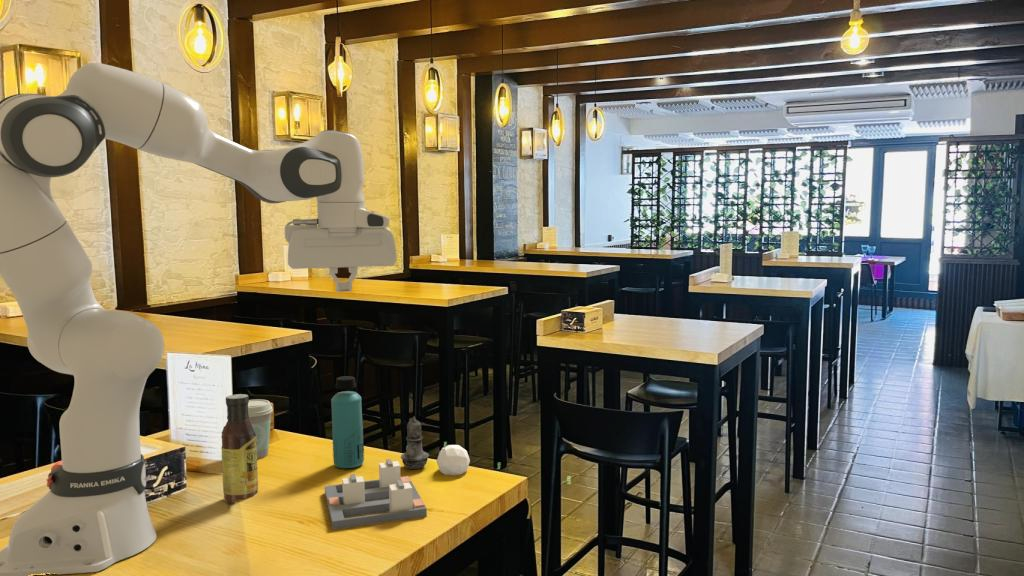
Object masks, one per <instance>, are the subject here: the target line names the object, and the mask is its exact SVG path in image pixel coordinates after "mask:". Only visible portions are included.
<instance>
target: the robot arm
mask: <svg viewBox="0 0 1024 576" xmlns="http://www.w3.org/2000/svg"><path fill="white" fill-rule="evenodd" d="M208 122H209V120H208V117H207V113H206V111H205V109H204V108H203V106H202V105H201V103H200V102H199V101H197V100H196V99H194V98H192V97H191V96H190V95H188V94H186V93H185V92H183V91H181V90H179V89H177V88H176V87H173V86H171V85H168V84H166V83H164V82H161V81H159V80H156V79H154V78H152V77H149V76H147V75H143V74H140V73H138V72H134V71H131V70H129V69H126V68H121V67H117V66H113V65H109V64H105V63H101V62H89V63H86V64H84V65H82V66H81V67H80V66H79V68H78V69H77V70H76V71H74V73H73V74H72V76H71V77H70V79H69V80H68V82H67V85H66V89H65V90H63V92H62V93H60V94H59V95H55V96H54V95H53V96H51V95H45V94H39V93H18V94H17V93H16V94H13V95H9V96H7V97H5V98H3V99H2V100H0V277H1V279H2V280H3V282H5V284H6V286H7V287H8V288H9V291H10V292H11V294H12V296H13V297H14V299H15V301H16V303H17V304H18V308H19V309H20V313H21V314H22V317H23V320H24V323H25V325H26V328H27V335H26V337H27V338H26V343H27V348H28V350H29V353H30V354H31V356H32V357H33V358H34V359H35V360H36V361H37V362H38V363H41V364H42V365H44V366H45V367H46V368H48V369H50V370H52V371H54V372H57V373H60V374H65V375H70V376H73V377H74V383H73V384H74V385H73V390H72V396H71V399H70V403H69V406H68V408H67V409H66V410H65V411H63V413H62V414H61V416H60V419H59V422H58V423H59V439H60V451H61V452H60V453H61V460H59V461H56V462H55V463H54V464H53V465H52V466H51V469H50V472H49V473H48V474H47V479H46V486H47V488H48V490H49V491H48V492H47V493H45V495H43V496H41V498H39V500H37V501H36V502H35V503H33V504H32V505H31V506H30V507H29V508H28V509H26V510H25V511H24V512H23V513H22V514H21V515H20V516H19V517H18V518H17V519H16V521H15V522H14V523H13V526H12V528H11V530H10V531H11V532H10V533H9V534H10V535H9V539H8V543H7V544H6V545H5V546H4V547H3V548H2V549H1V550H0V576H28V575H31V574H41V573H42V574H43V573H45V574H47V573H50V574H54V573H55V574H57V575H67V574H69V575H70V574H83V573H84V574H86V573H95V572H99V571H103V570H104V569H107V568H108V567H110V566H112V565H113V564H115V563H116V562H119V561H121V560H124V559H127V558H130V557H132V556H134V555H136V554H139V553H140V552H142V551H144V550H146V549H147V548H149V547H150V546H151V545H153V544H154V542H156V539H157V535H158V534H157V532H156V530H155V527H154V525H153V522H152V519H151V515H150V512H149V511H150V510H149V508H148V503H147V498H146V493H145V490H146V487H147V474H146V473H147V471H146V463H145V457H144V455H143V454H142V453H141V434H140V430H141V429H140V407H141V401H142V397H143V393H144V389H145V386H146V383H147V379H148V378H149V376H150V375H151V374H152V373H153V372H154V371H155V370H156V369H157V368H158V365H159V364H160V363H161V360H162V359H163V355H164V352H165V339H164V336H163V334H162V332H161V330H160V328H159V327H158V326H157V325H156V324H155V323H154V322H152V321H150V320H149V319H147V318H145V317H142V316H141V315H138V314H136V313H134V312H130V311H127V310H115V309H107V308H104V307H103V306H102V305H101V304H100V303H99V301H97V299H96V296H95V294H94V293H95V292H94V290H93V288H92V284H91V278H90V277H91V275H92V271H93V264H92V261H91V259H90V258H89V256H88V254H87V253H86V251H85V249H84V248H83V246H82V244H81V243H80V241H79V239H78V238H77V236H76V234H75V233H74V231H73V229H72V227H71V225H70V224H69V223H68V221H67V220H66V217H65V216H64V214H63V212H61V210H60V208H59V206H58V205H57V204H56V203H57V202H55V199H54V197H53V195H52V191H51V190H52V189H51V181H52V180H51V179H52V178H59V177H64V176H68V175H70V174H73V173H75V172H76V171H77V170H79V169H81V167H82V166H84V164H86V163H87V161H88V160H89V158H90V157H91V156H92V154H93V153H94V152H95V150H97V148H98V147H99V146H100V144H102V142H103V141H104V140H109V141H112V142H117V143H119V144H123V145H125V146H128V147H130V148H133V149H136V150H139V151H141V152H144V153H148V154H151V155H153V156H154V155H155V156H157V157H161V158H166V159H171V160H177V161H180V162H185V163H191V164H194V165H197V166H199V167H201V168H203V169H204V168H205V169H206V170H209V171H211V172H214V173H217V174H220V175H221V176H223V177H227V178H229V179H231V180H233V181H236V182H237V183H239V184H240V185H242V186H243V187H244V188H245V189H246V190H247V191H249V192H250V194H252V195H253V196H254V197H255V198H256V199H258V200H260V201H262V202H264V203H267V204H281V203H286V202H297V201H307V200H312V199H314V198H316V203H317V204H316V206H317V210H316V211H317V218H305V219H300V218H294V219H292V220H291V221H289V222H287V224H285V225H284V226H285V227H284V239H285V241H286V242H287V243H288V249H287V265H288V267H289V268H290V269H294V270H299V269H301V270H302V269H328V273H329V275H330V276H331V278H332V279H333V281H334V282H335V292H337V293H338V292H352V291H353V282H354V280H355V278H356V276H357V275H358V268H363V267H367V268H368V267H369V268H371V267H393V266H394V265H396V263H397V260H398V257H397V256H398V253H397V248H396V247H397V245H396V239H395V235H394V234H393V232H392V231H391V230H390V229H389V228H388V227H390V218H389V217H388V216H386V215H383V214H380V213H376V212H375V211H372V210H367V209H366V203H365V202H366V201H365V200H366V199H365V196H364V191H363V186H364V183H365V167H364V166H365V165H364V156H363V149H362V146H361V142H360V141H359V139H358V138H357V137H356V136H355V135H354V134H352V133H349V132H346V131H343V130H334V129H324V130H321V131H319V132H318V134H316V135H315V136H314V137H312V138H310V139H308V140H306V141H304V142H301V143H298V144H295V145H292V146H289V147H284V148H279V149H264V150H256V149H251V148H248V147H246V146H244V145H241V144H239V143H237V142H235V141H233V140H230V139H228V138H226V137H223V136H221V135H219V134H218V133H215V132H214V131H212V130H211V129H210V128H209V123H208ZM338 268H348V273H350V275H349V278H348V279H347V280H346V281H340V280H339V278H338V276H337V275H336V274H338ZM58 573H59V574H58Z"/></svg>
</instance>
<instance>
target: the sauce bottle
mask: <svg viewBox="0 0 1024 576" xmlns="http://www.w3.org/2000/svg"><path fill="white" fill-rule="evenodd" d="M249 400H250V399H249V395H248V394H245V393H243V394H242V393H238V394H237V393H236V394H231V395H227V396H226V397H225V404H226V413H227V414H226V415H227V416H226V418H227V421H226V423H225V425H224V426H223V428H222V431H221V447H220V448H221V464H222V465H221V467H222V489H223V490H222V493H223V500H224V501H225V502H226V504H227V503H228V504H232V505H234V504H235V503H236V500H237V501H240V500H241V501H242V500H246V499H249V498H252V497H254V496H256V495H257V494H258V491H259V473H258V472H259V471H258V459H257V441H256V434H255V431H254V429H253V427H252V424H251V422H250V420H249V415H248V403H249Z"/></svg>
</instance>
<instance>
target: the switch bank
mask: <svg viewBox="0 0 1024 576" xmlns="http://www.w3.org/2000/svg"><path fill="white" fill-rule="evenodd" d="M401 481H402V482H403V483H408V482H409V483H410V485H411V487H412V502H413V509H410V510H403V511H396V512H390V509H389V487H383V488H380V481H379V479H371V480H364V483H365V502H362V503H355V504H347V505H343V485H342V483H340V484H331V485H324V498H325V500H326V505H327V510H328V514H329V520H330V523H331V529H332V530H333V531H334V530H342V529H347V528H355V527H362V526H368V525H370V526H371V525H376V524H383V523H389V522H397V521H398V522H399V521H405V520H411V519H419V518H425V517H428V514H427V513H428V511H427V507H426V505H425V503H424V501H423V500H422V498H421V495H420V494H419V492H418V490H417V489H416V486H415V485H414V483H413V482H412V480H411V478H410V477H409V475H405V476H404V475H403V476H401Z"/></svg>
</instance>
